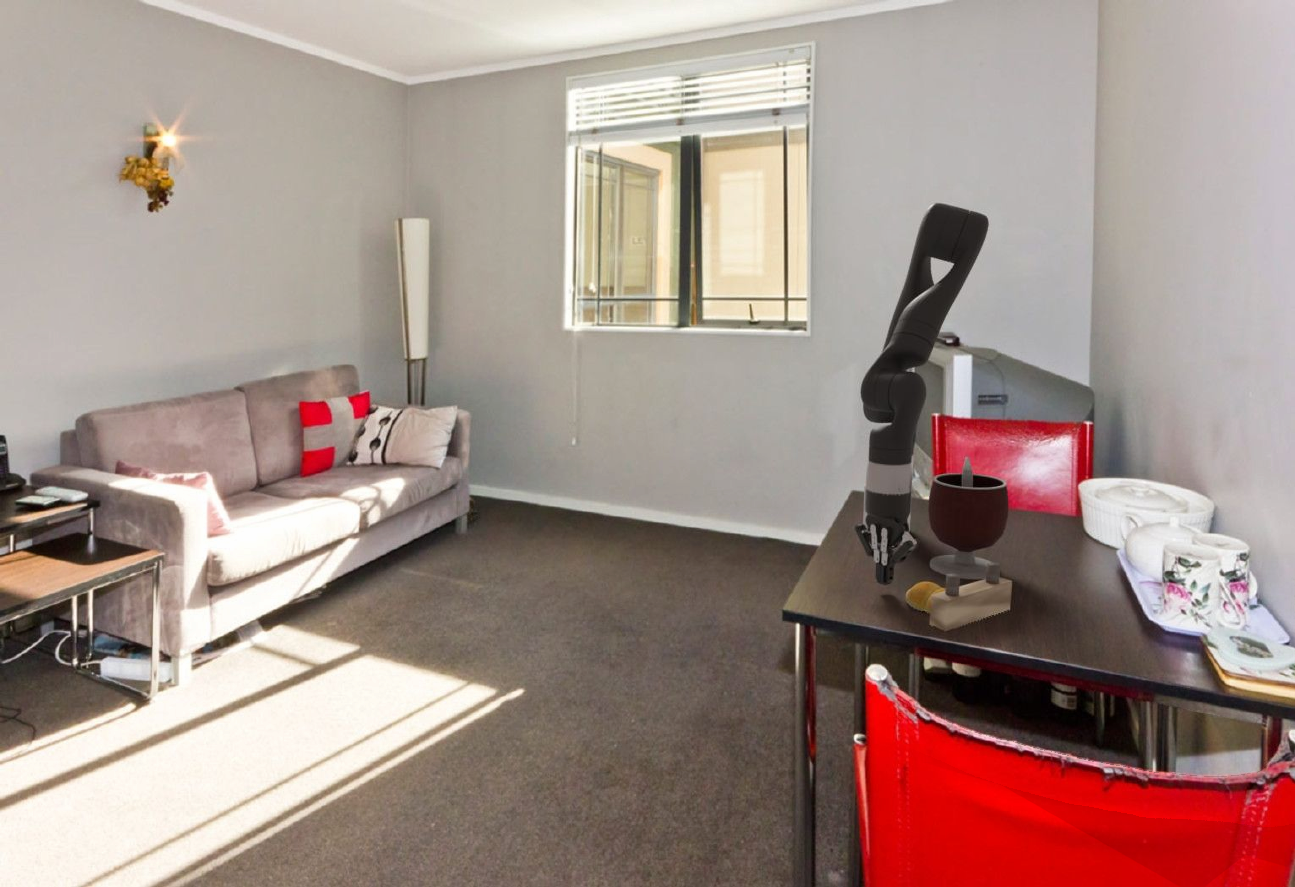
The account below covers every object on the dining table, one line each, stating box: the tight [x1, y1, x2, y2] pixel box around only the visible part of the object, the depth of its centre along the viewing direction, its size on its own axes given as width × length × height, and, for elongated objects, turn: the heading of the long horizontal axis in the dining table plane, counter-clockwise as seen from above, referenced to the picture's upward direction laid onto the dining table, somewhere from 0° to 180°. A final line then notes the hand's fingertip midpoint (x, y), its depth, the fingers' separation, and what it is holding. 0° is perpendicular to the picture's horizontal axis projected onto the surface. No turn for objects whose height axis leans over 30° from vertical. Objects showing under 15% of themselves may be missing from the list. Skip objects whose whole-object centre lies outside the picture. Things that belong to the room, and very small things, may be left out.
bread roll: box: [905, 581, 946, 615], centre depth 132 cm, size 8×9×4 cm
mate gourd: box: [927, 456, 1010, 580], centre depth 150 cm, size 16×14×20 cm
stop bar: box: [929, 561, 1013, 632], centre depth 127 cm, size 3×16×8 cm, turn 121°
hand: (884, 583), depth 139 cm, fingers closed
